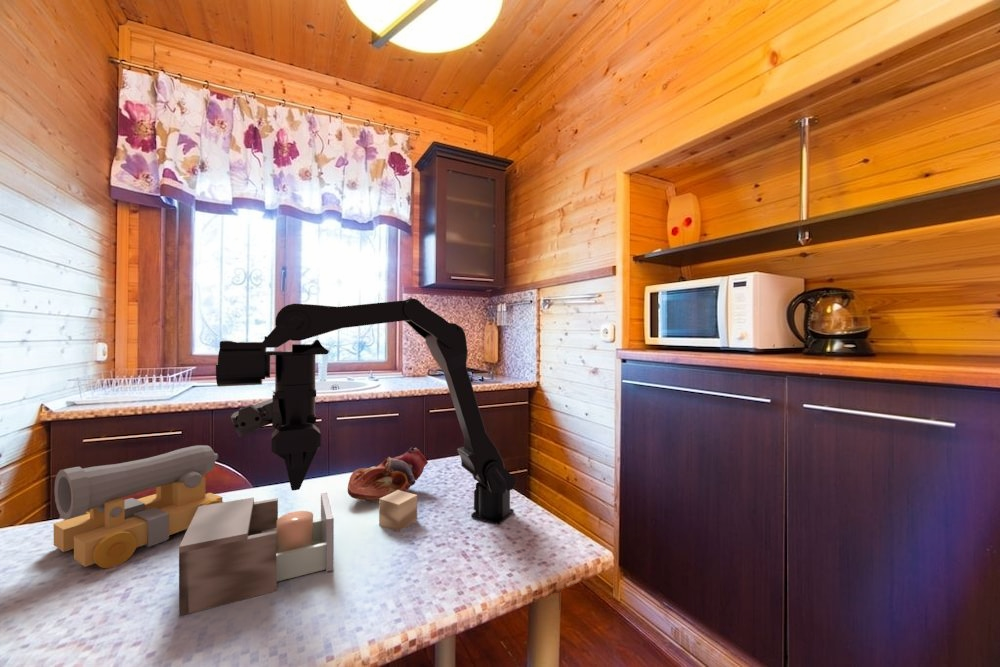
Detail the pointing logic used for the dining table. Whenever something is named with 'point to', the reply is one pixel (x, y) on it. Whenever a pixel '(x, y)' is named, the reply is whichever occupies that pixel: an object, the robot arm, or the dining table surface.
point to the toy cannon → (130, 504)
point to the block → (398, 510)
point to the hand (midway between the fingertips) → (295, 480)
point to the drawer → (310, 548)
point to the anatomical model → (387, 476)
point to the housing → (228, 554)
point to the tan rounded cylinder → (294, 531)
